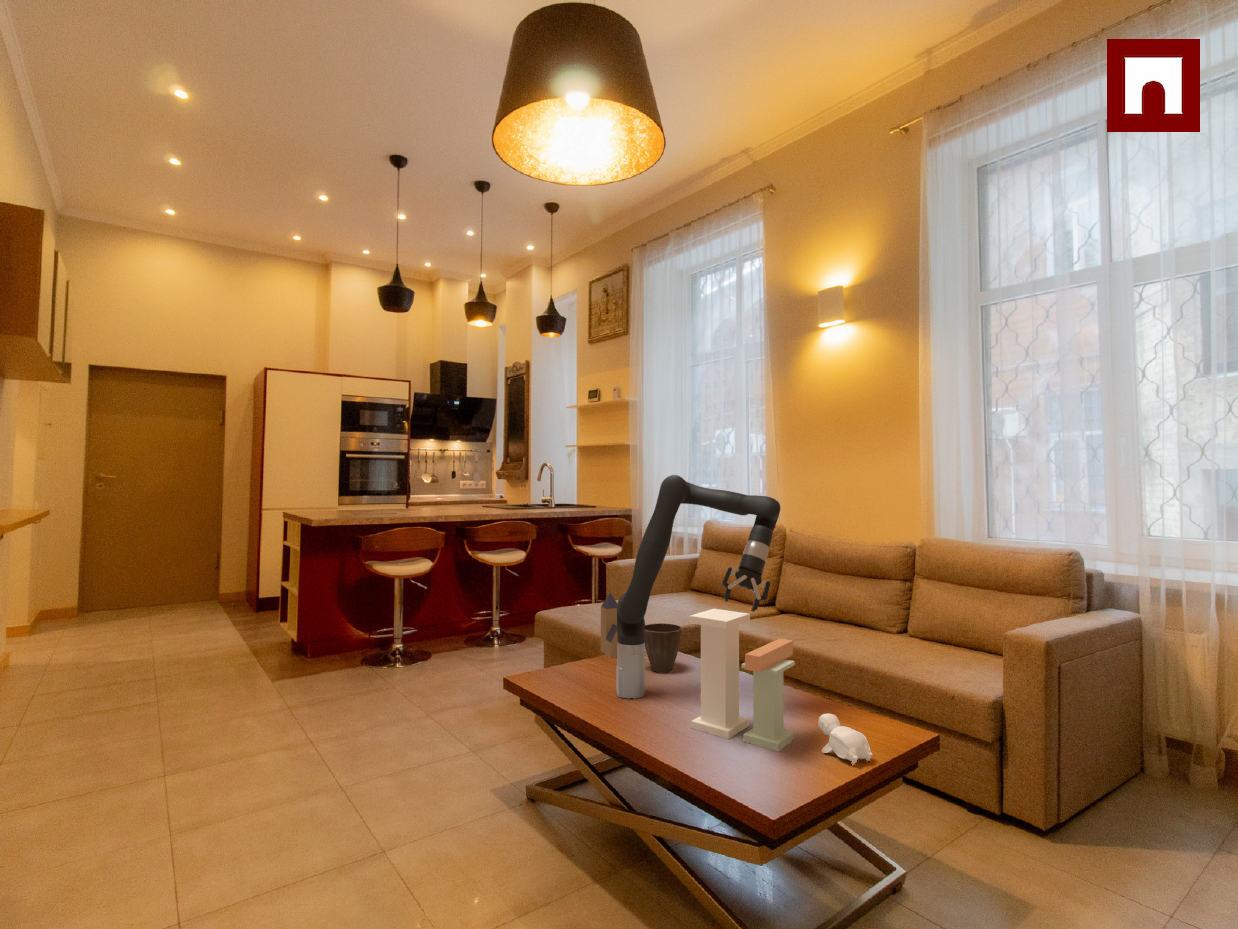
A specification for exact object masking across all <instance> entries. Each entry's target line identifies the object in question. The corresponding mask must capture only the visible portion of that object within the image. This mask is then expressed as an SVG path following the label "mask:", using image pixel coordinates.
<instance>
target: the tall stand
mask: <svg viewBox="0 0 1238 929" xmlns="http://www.w3.org/2000/svg"><path fill="white" fill-rule="evenodd" d="M688 620H689V623H688V624H694V625H700V716H698V717H696V718H693V719H692V720H691V721H690V728H691V729H693V730H696V731H700V732H704V733H706V732H707V734H710V735H713V736H715V737H720V738H724V739H727V740H729V739H731V738H733V737H734V736H735V735H737V734H739V733H740V732H741V731H743V730H745V729H746V728H748V727H749V724H750V722H749V720H750V719H749V718H746V717H742V716H740V625H741V624H745V623H747V622H750V621H751V613H748V612H742V611H741V612H740V611H734V610H726V609H718V608H711V609H707V610H704V611H700V612H698V613H695V614H691V615H689V619H688ZM747 726H748V727H747ZM738 732H739V733H738Z"/></svg>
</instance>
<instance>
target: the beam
mask: <svg viewBox="0 0 1238 929" xmlns="http://www.w3.org/2000/svg"><path fill="white" fill-rule="evenodd" d="M744 656H745V657H744V663H745V668H744V670H745V671H746V670H747V671H751V672H753V671H755V672H761V671H763V670H765V669H767V668H769V667H771V666H772V665H774V664H776V663H778V662H780V661H782V660H784V659H785V660H787V658H791V656H794V640H793V639H785V638H778V639H776V640H774V641H771V642H769V643H766V644H765V645H762V646H760V647H758V648H755V649H754V650H751V651H749V652H746V653H745V654H744Z"/></svg>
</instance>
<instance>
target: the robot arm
mask: <svg viewBox="0 0 1238 929" xmlns="http://www.w3.org/2000/svg"><path fill="white" fill-rule="evenodd" d="M681 504H683V505H685V504H686V505H694V506H695V505H696V506H702V507H707V508H709V509H710V508H711V509H713V510H718V511H721V512H726V513H729V514H734V515H738V516H745V517H746V516H748V515H753V516H755V519H754V523H753V526H752V528H751V529H750V533H749V536H748V539H747V541H746V542H747V543H746V544H745V545H744V546H745V547H744V550H743V552H742V556H741V558H740V561H739V565H738V568H737V570H736V569H733V568H732V567H728V568H727V569H726V572H725V575H724V577H723V580H722V582H721V585H722V587H724V588H725V592H724V595H723V600H724V602H725V603H728V601H729V599H730V595H731V594H732V589H733V588H734V587H736V586H739V587H740V588H743V589H746V590H749V591H750V590H751V591H752V594H753V595H754V599H753V603H752V607H751V610H750V611H751V613H753V612H755V611H757V610H758V607H759V604H760V602H761V601H762V602H765V601H766V600H768V596H769V591H770V586H771V582H770V581H769V580H768V581H767V580H762V576H763V573H764V569H765V567H766V563H767V559H768V556H769V551H770V550H769V549H770V546H771V543H772V539H773V536H774V535H773V534H774V531H775V528H776V526H777V522H778V519H779V517H780V512H781V503H780V502H779V501H778V499H775V498H773V497H770V496H766V495H750V494H743V493H742V492H741V493H740V492H736V491H730V490H723V489H714V488H709V487H708V488H707V487H705V486H704V487H703V486H699V485H696V484H694V483H691V482H688V481H686V479H684V478H683V477H682V476H680V475H677V474H672V475H671V474H670V475H669V476H667V477H665V478H664V479H663V480H662V482H661V484H660V488H659V492H658V495H657V500H656V503H655V507H654V510H653V513H652V515H651V517H650V520H649V522H648V525H647V527H646V529H645V532H644V534H643V536H642V539H641V542H640V544H639V545H638V546H639V547H638V550H637V553H636V558H635V562H634V566H633V573H632V578H631V580H630V583H629V585H628V588H627V589H626V592H625V593H623V594H622V595H621V596H620V597H619V599H618V600H617V658H616V659H617V661H616V662H617V663H616V676H615V677H616V678H615V679H616V680H615V682H616V683H615V684H616V685H615V688H616V690H615V693H616V695H617V698H624V699H630V698H633V699H639V698H643V697H644V696H645V695H646V651H645V630H644V620H645V615H646V613H647V608H648V605H649V600H650V596H651V593H652V589H653V586H654V584H655V581H656V579H657V578H658V575H659V572H660V571H661V567H662V565H663V563H664V561H665V558H666V555H667V553H668V549H669V546H670V544H671V543H670V542H671V539H672V533H673V526H674V521H675V519H676V516H677V513H678V511H679V509H680V506H681ZM733 575H734V576H735V579H736V580H734V581H733V582H732V583H730V584H729V583H728V580H729V579H730V576H733ZM760 584H761V586H762V588H763V591H762V595H761V594H760V591H759V588H758V586H760Z"/></svg>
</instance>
